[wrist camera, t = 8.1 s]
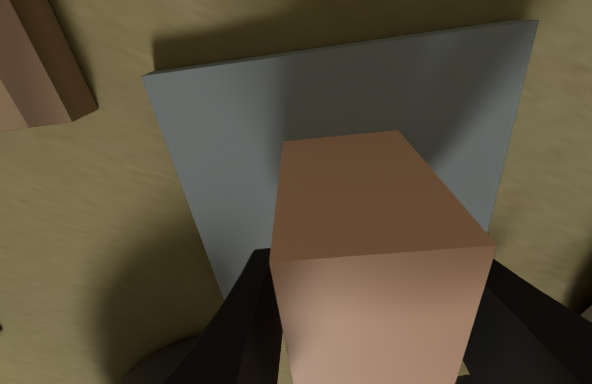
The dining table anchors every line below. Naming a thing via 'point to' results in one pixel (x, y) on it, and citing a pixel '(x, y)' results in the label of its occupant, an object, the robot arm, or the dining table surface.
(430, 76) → the mat
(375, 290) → the terracotta block
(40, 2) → the brown wooden frame
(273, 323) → the robot arm
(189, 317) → the dining table surface
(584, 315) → the jar
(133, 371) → the dark rounded block
